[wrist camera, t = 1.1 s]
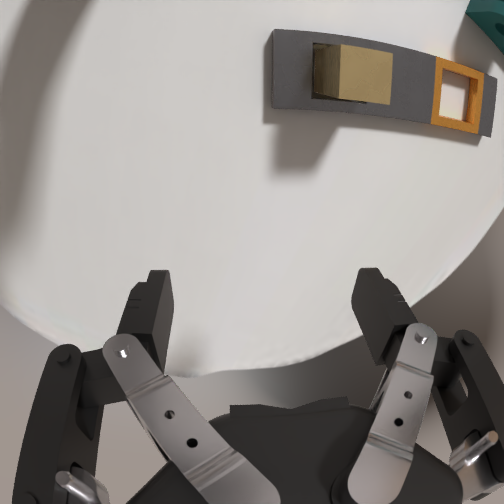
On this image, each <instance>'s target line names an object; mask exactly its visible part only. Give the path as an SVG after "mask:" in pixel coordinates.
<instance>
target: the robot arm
mask: <svg viewBox="0 0 504 504" xmlns="http://www.w3.org/2000/svg"><path fill="white" fill-rule="evenodd" d="M351 303H352V309H353V311H354V314H355V316H356V318H357V321H358V323H359V325H360V328H361V330H362V333H363V335H364V337H365V340H366V342H367V345H368V347H369V350H370V352H371V355H372V357H373V360H374V362H375V364H376V365H383V364H386V366H387V370H386V371H385V373H384V376H383V378H382V381H381V383H380V385H379V388H378V390H377V393H376V395H375V397H374V399H373V402H372V404H371V406H370V408H369V409H366V408H364V407H360V406H357V405H351V404H349V402H348V398H347V397H338V398H331V399H322V400H318V401H315V402H312V403H309V404H306V405H303V406H300V407H297V408H294V409H286V408H279V407H273V406H266V405H261V404H258V405H230V413H229V414H224V415H221V416H219V417H216V418H214V419H212V420H210V421H209V422H207V420H206V419H205V418H204V417H203V416H202V415H201V414H200V412H199V411H198V410H197V409H196V408H195V406H194V405H193V404H192V403H191V402H190V400H189V399H188V398H187V397H186V396H185V394H184V393H183V392H182V391H181V390H180V388H179V387H178V386H177V385H176V383H175V382H174V381H173V380H172V378H171V377H170V376H168V375H166V376H164V369H165V362H166V356H167V349H168V343H169V337H170V331H171V325H172V319H173V313H174V299H173V293H172V286H171V279H170V273H169V270H151V271H150V273H149V276H148V279H147V282H138V283H137V284H136V285H135V286H134V288H133V289H132V290H131V292H130V294H129V297H128V301H127V303H126V306H125V309H124V312H123V315H122V318H121V321H120V324H119V327H118V330H117V333H116V335H115V336H113V337H111V338H109V339H108V340H107V341H106V342H105V344H104V346H103V348H101V349H98V350H93V351H88V352H83V353H81V351H80V350H79V348H78V347H76V346H75V345H72V344H64V345H60V346H58V347H56V348H55V349H54V350H53V351H52V352H51V353H50V355H49V356H48V359H47V362H46V365H45V368H44V371H43V373H42V376H41V379H40V382H39V386H38V389H37V392H36V395H35V399H34V402H33V405H32V409H31V413H30V416H29V420H28V423H27V427H26V431H25V435H24V439H23V443H22V448H21V452H20V457H19V461H18V467H17V472H16V477H15V483H14V489H13V496H12V504H110V502H109V494H108V491H107V489H106V487H105V486H104V485H103V484H102V483H101V482H100V481H98V480H97V479H96V478H95V471H96V461H97V453H98V444H99V437H100V430H101V423H102V417H103V410H104V405H105V404H110V403H116V402H120V401H126V402H127V404H128V405H129V407H130V409H131V410H132V412H133V413H134V415H135V416H136V418H137V420H138V421H139V423H140V424H141V425H142V427H143V429H144V430H145V431H146V433H147V435H148V436H149V438H150V439H151V440H152V442H153V444H154V445H155V447H156V448H157V450H158V451H159V452H160V454H161V455H162V457H163V458H164V459H165V461H166V462H167V463H166V464H165V465H164V466H163V467H162V469H160V470H159V471H158V472H157V473H156V475H154V476H153V477H152V478H151V479H150V480H149V481H148V483H147V484H146V485H144V486H143V488H141V489H140V490H139V491H138V493H136V494H135V495H134V496H133V497H132V498H131V499H130V500H129V501H128V502H127V503H126V504H462V502H464V501H467V500H469V499H470V500H474V501H476V500H480V499H482V498H484V497H485V496H487V495H489V494H491V493H492V492H494V491H496V490H497V489H499V488H501V487H503V486H504V384H503V382H502V380H501V378H500V376H499V374H498V372H497V371H496V369H495V367H494V365H493V363H492V361H491V359H490V358H489V356H488V354H487V352H486V350H485V349H484V347H483V346H482V343H481V342H480V340H479V338H478V337H477V336H476V335H475V334H474V333H472V332H470V331H467V330H459V331H457V332H456V333H455V335H454V336H453V338H445V337H438V336H437V335H436V333H435V332H434V330H432V329H431V328H430V327H429V326H427V325H425V324H422V323H418V321H417V319H416V317H415V316H414V314H413V312H412V311H411V309H410V307H409V306H408V304H407V302H405V299H404V297H403V296H402V295H401V293H400V291H399V289H398V288H397V286H396V285H395V284H394V283H392V282H391V281H390V280H389V279H384V277H383V275H382V274H381V272H380V271H379V269H378V268H361V269H360V270H359V272H358V275H357V279H356V283H355V286H354V290H353V294H352V300H351ZM461 377H462V378H463V380H464V382H465V384H466V386H467V389H468V397H467V396H466V394H465V391H464V389H463V387H462V385H461V383H460V378H461ZM430 392H431V393H432V395H433V398H434V401H435V403H436V406H437V409H438V412H439V414H440V417H441V419H442V423H443V426H444V428H445V431H446V434H447V437H448V440H449V443H450V446H451V449H452V453H451V455H450V459H449V462H450V464H449V465H447V464H445V463H444V462H442V461H441V460H440V459H438V458H436V457H435V456H434V455H432V454H431V453H430V452H428V451H427V450H425V449H424V448H422V447H421V446H420V445H418V444H417V443H416V439H417V436H418V433H419V430H420V427H421V424H422V420H423V417H424V414H425V410H426V407H427V403H428V399H429V396H430Z"/></svg>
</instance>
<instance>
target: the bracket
mask: <svg viewBox="0 0 504 504" xmlns="http://www.w3.org/2000/svg"><path fill="white" fill-rule="evenodd" d="M465 13H466V14H467V15H468V16H469V17H470V18H471V19H472V20H473V21H474V22H475V23H476V24H477V25H478V26H479V27H480V28H481V29H482V30H483V31H484V32H485V34H486V35H487V36H488V37H489V38H490V39H491V40H492V41H493V42H494V44H495V45H496V46H497V47H498V48H499V49H500V51H501V52H502V53H503V54H504V0H470V2H469V5H468V7H467V10H466V12H465Z"/></svg>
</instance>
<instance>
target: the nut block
mask: <svg viewBox="0 0 504 504" xmlns="http://www.w3.org/2000/svg"><path fill="white" fill-rule="evenodd" d="M392 63H393V53H388V52H383V51H378V50H373V49H368V48H362V47H356V46H349V45H342V44H340V45H335V46H330V47H326V48H322V49H317V50H315V73H314V92H316V93H320V94H324V95H328V96H331V97H335V98H338V99H348V100H357V101H365V102H373V103H380V104H387V105H390V97H391V82H392Z"/></svg>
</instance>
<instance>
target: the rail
mask: <svg viewBox="0 0 504 504" xmlns="http://www.w3.org/2000/svg"><path fill="white" fill-rule="evenodd" d="M313 44H319V45H328V46H335V45H340V44H342V45H349V46H356V47H362V48H368V49H373V50H378V51H383V52H388V53H393V63H392V82H391V97H390V105H387V104H380V103H373V102H365V101H361V102H354V101H345V100H334V99H321V98H311V92H312V56H313ZM443 69H444V70H447V71H451V72H454V73H457V74H460V75H463V76H466V77H469V78H470V88H469V99H468V108H467V117H466V121H462V120H458V119H454V118H449V117H445V116H440V115H439V108H440V98H441V86H442V71H443ZM496 91H497V79H496V78H494V77H492V76H489V75H487V74H484V73H482V72H479V71H477V70H474V69H472V68H469V67H466V66H464V65H461V64H458V63H455V62H452V61H449V60H446V59H443V58H440V57H437V56H433V55H430V54H426V53H423V52H419V51H416V50H412V49H408V48H404V47H400V46H396V45H391V44H387V43H382V42H377V41H372V40H367V39H362V38H356V37H350V36H343V35H336V34H328V33H320V32H310V31H298V30H284V29H274V30H273V31H272V108H275V109H305V110H323V111H336V112H348V113H358V114H367V115H376V116H384V117H391V118H398V119H404V120H411V121H417V122H422V123H428V124H433V125H439V126H444V127H448V128H453V129H458V130H462V131H466V132H471V133H475V134H479V135H483V136H487V137H490V138H491V132H492V126H493V118H494V110H495V101H496Z"/></svg>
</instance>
